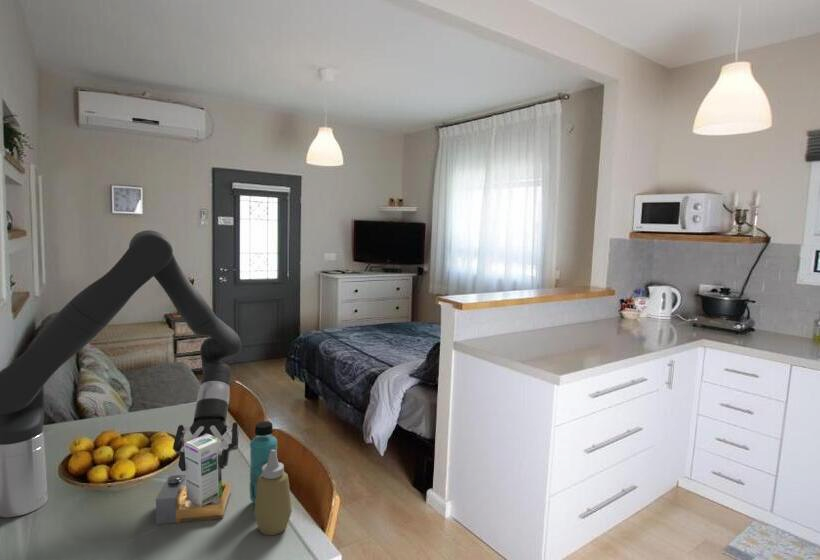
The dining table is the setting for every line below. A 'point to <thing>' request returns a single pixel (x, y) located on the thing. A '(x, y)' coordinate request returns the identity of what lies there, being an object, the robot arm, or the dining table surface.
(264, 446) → the beverage bottle
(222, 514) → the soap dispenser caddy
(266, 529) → the squeeze bottle
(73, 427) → the dining table surface
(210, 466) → the syrup box
